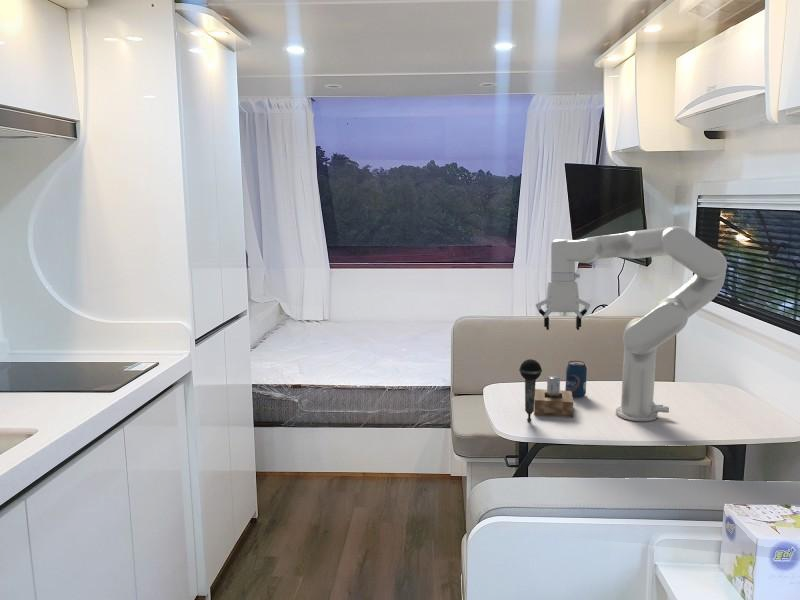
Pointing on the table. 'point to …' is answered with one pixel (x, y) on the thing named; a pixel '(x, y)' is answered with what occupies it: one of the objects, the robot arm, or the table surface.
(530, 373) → the microphone
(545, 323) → the robot arm
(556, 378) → the pin
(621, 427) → the table surface
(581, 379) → the soda can
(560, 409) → the socket block
